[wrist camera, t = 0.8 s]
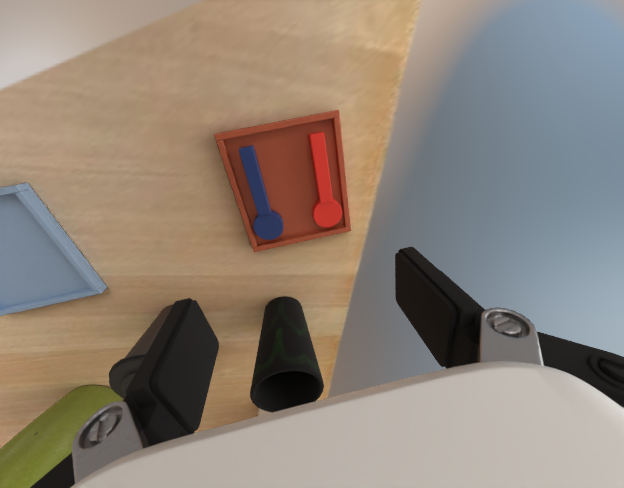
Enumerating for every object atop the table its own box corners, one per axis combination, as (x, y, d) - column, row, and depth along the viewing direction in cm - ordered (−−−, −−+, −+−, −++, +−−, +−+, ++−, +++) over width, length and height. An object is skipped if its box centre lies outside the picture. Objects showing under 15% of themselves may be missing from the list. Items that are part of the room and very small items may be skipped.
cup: (291, 335, 38) (298, 418, 27) (248, 320, 35) (237, 406, 24) (318, 302, 35) (337, 379, 25) (274, 282, 32) (274, 361, 22)
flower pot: (41, 421, 38) (-93, 594, 24) (32, 363, 33) (-149, 545, 19) (143, 425, 43) (80, 573, 29) (152, 374, 37) (78, 528, 23)
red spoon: (298, 135, 24) (299, 136, 22) (330, 129, 24) (333, 130, 23) (314, 226, 29) (316, 231, 27) (341, 220, 29) (344, 225, 28)
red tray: (216, 133, 23) (213, 134, 22) (336, 110, 24) (339, 109, 23) (254, 247, 29) (253, 252, 28) (348, 227, 30) (351, 230, 29)
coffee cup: (219, 304, 33) (199, 372, 24) (202, 343, 36) (180, 416, 27) (155, 288, 30) (106, 357, 21) (143, 332, 33) (96, 408, 24)
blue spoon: (230, 149, 24) (227, 151, 22) (263, 142, 24) (262, 144, 22) (258, 238, 28) (257, 244, 27) (285, 232, 29) (286, 238, 27)
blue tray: (-106, 208, 22) (-125, 213, 21) (27, 182, 23) (15, 185, 22) (5, 310, 28) (-5, 317, 27) (107, 287, 29) (101, 293, 28)
